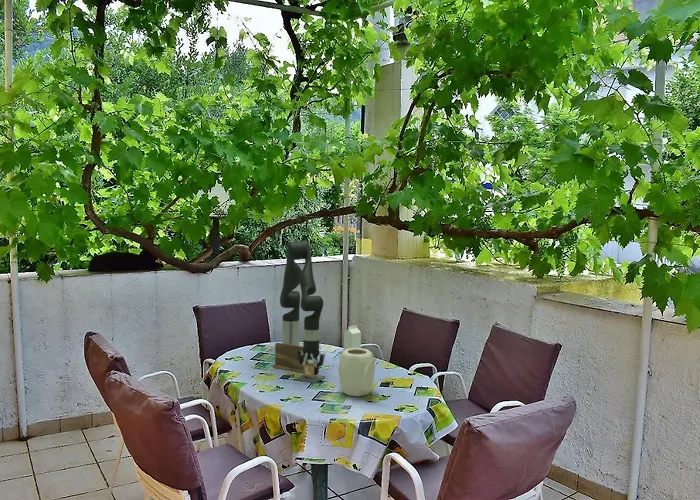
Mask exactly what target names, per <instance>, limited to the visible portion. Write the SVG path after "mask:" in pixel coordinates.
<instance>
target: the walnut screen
mask: <svg viewBox="0 0 700 500" xmlns="http://www.w3.org/2000/svg"><path fill="white" fill-rule="evenodd" d="M303 349H304V348H303V345H299V346H297V345H290V344H283V343H282V342H275V345H274V351H275V352H274V364H273V365H272V369H278V370H283V371H289V372H295V373H301V374H304V372H303V364H300V363H299V358H298V353H297V352H298V351H300V350H303ZM304 357H305V355H304V354H303V358H304Z"/></svg>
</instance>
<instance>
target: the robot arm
mask: <svg viewBox="0 0 700 500" xmlns="http://www.w3.org/2000/svg"><path fill="white" fill-rule="evenodd" d="M286 248H287V249H286V263H285V267H284V268H285V270H284V275H283V284H282V288H281V292H280V296H279V304H280V306H281V308H283V309H292V310H290V311H288V312H286V313H283V315H282V321H281V322H282V325H281V326H282V330H281V331H282V334H281V335H282V338H281V343H283V344H290V345H297V346H300V339H301V338H300V335H301V334H300V310H301V309H302V311H303V312H313V313H312V314H310V315H307V316H305V317H303V318H304V319H303V335H302V337H303V341H302V344H303V345H302V346H303V348H304V349H303V350H300V351H298V352H297V353H298V358H299V363H300V364H303V372H304V365H305V364H307V363H309V360H311V361H312V363H314V366H315V370H314V375H319V372H320V367H322V366H323V365H324V362H325V356H326V354H325V353H321V352H320V318H321V313H322V310H323V308H324V299H323V297H322V296H320V295H314V294H315V293H316V292H317V288H316V287H317V286H316V282H315V278H314V272H313V261H312V251H311V250H312V249H311V246H310V243H309V241H307V240H293V241H289V242H288V244H287V247H286ZM298 260H304V261H305V262H304V265H303V268H301V267H300V266H299V265H298V263H297V262H296V261H298ZM299 286H300V292H299V290H295V289H296V288H298V287H299ZM300 308H301V309H300ZM303 354H304V355H305V357H304V358H303Z"/></svg>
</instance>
